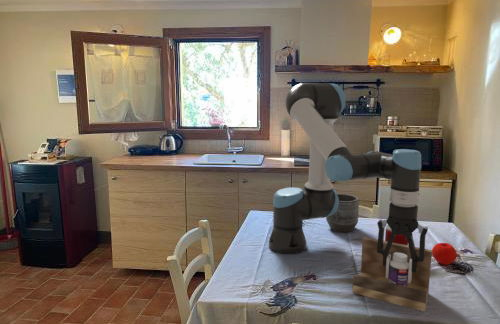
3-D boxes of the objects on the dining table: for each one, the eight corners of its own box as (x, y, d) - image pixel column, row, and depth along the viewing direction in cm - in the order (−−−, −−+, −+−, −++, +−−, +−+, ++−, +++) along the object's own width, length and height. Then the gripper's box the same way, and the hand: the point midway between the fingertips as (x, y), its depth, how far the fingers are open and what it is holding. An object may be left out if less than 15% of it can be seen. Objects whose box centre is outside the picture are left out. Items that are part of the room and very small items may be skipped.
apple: (435, 256, 134) (437, 237, 132) (458, 262, 128) (460, 243, 127) (427, 262, 128) (429, 243, 127) (451, 270, 122) (453, 250, 121)
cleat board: (352, 292, 108) (354, 249, 106) (361, 277, 118) (363, 237, 115) (424, 312, 98) (429, 264, 96) (428, 293, 108) (432, 250, 105)
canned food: (408, 260, 130) (411, 232, 128) (386, 258, 131) (387, 230, 130) (404, 252, 137) (406, 225, 135) (382, 250, 139) (384, 223, 137)
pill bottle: (398, 292, 102) (401, 260, 100) (384, 283, 107) (386, 253, 105) (411, 287, 104) (414, 256, 103) (396, 279, 109) (399, 250, 108)
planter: (324, 222, 171) (325, 192, 168) (355, 224, 169) (356, 193, 166) (326, 233, 157) (328, 201, 154) (360, 235, 155) (361, 202, 152)
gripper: (367, 202, 103) (363, 276, 107) (439, 211, 94) (432, 292, 98) (373, 196, 109) (369, 266, 113) (440, 204, 100) (433, 281, 104)
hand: (398, 278), depth 105 cm, fingers closed on pill bottle, 5 cm apart
